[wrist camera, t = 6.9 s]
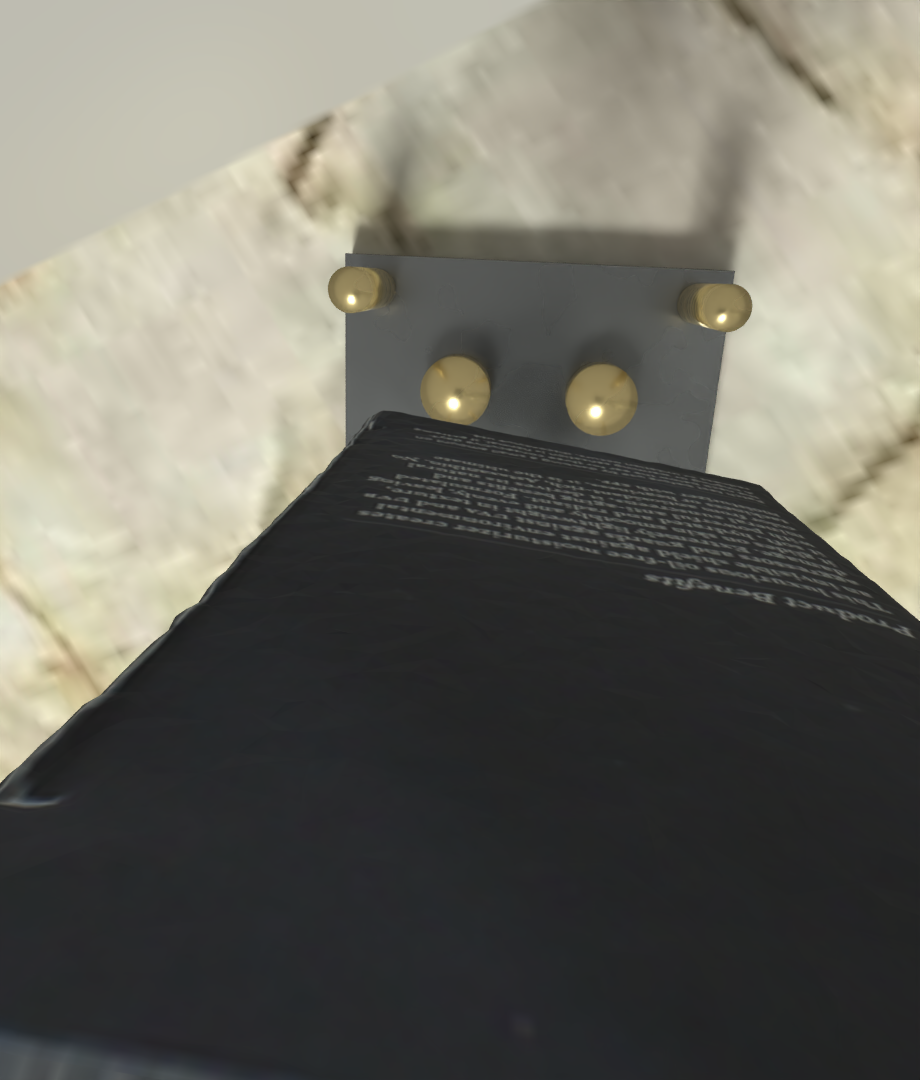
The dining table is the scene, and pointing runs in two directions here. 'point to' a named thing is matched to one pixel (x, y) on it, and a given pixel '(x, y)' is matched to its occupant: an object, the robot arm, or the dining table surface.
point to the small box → (485, 795)
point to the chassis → (541, 349)
